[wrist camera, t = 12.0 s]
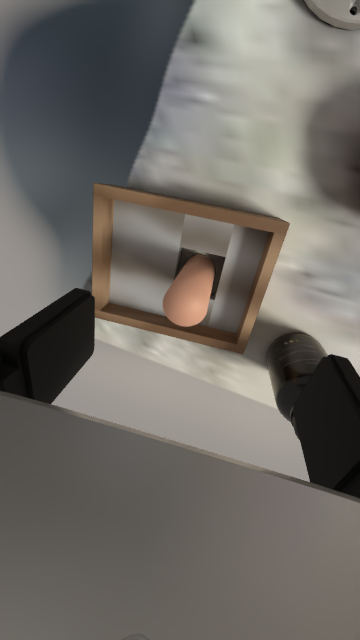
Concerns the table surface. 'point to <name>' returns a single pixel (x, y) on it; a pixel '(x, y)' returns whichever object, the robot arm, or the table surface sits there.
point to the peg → (190, 292)
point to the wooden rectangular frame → (164, 256)
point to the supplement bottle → (292, 369)
